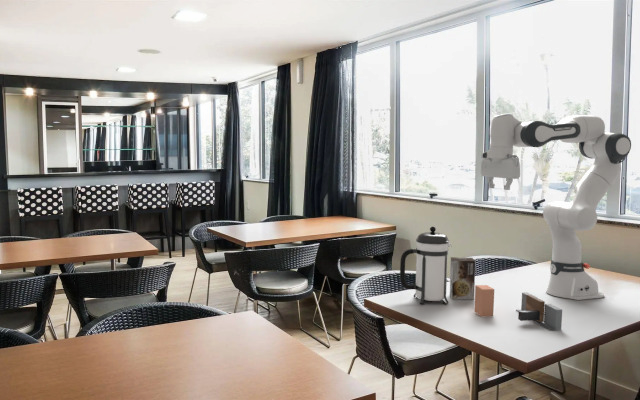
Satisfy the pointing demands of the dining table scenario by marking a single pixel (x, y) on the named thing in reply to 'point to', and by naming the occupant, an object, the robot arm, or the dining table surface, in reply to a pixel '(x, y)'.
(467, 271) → the cookie box
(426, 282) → the coffee press
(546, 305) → the door wall
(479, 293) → the doorstop block
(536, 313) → the sliding door
